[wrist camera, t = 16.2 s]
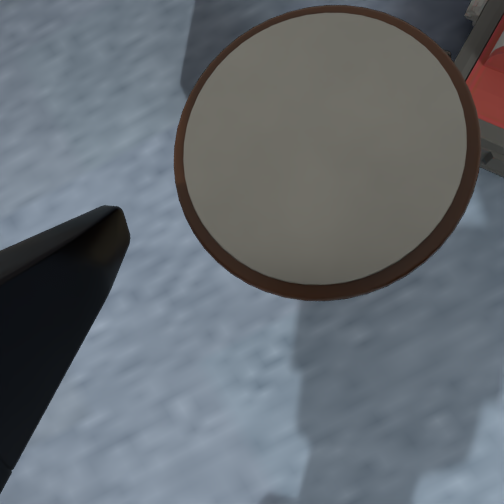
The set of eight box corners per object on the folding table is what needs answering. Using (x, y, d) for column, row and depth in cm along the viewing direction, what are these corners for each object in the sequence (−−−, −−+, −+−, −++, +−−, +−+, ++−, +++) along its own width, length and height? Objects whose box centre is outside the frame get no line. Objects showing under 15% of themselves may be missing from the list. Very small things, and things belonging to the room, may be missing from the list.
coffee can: (395, 154, 18) (469, -31, 8) (407, 295, 17) (505, 295, 7) (258, 169, 19) (165, 24, 9) (264, 300, 19) (171, 309, 8)
